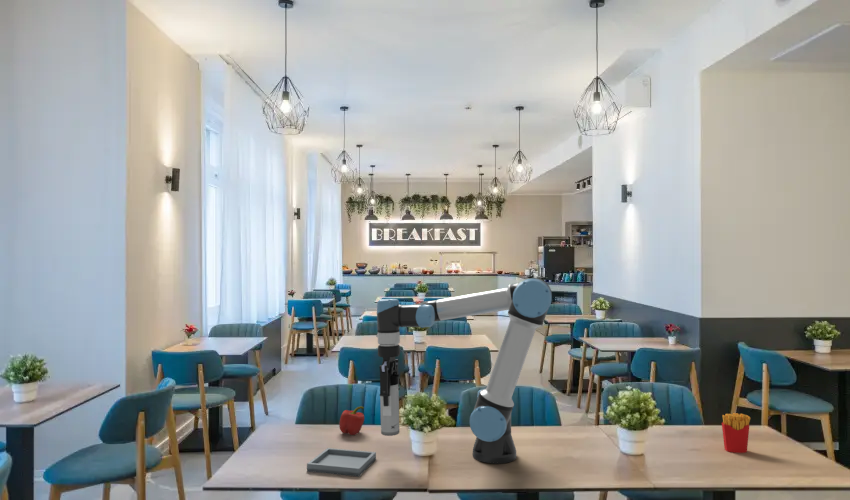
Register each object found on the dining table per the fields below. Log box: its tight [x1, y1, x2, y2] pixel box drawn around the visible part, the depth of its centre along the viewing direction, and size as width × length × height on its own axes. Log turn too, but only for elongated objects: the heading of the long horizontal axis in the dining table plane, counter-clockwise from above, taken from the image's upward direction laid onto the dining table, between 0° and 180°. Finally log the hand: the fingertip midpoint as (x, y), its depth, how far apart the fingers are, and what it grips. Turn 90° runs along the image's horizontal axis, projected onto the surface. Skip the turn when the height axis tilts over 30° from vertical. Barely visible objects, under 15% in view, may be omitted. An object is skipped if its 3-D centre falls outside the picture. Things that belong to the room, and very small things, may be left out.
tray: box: [306, 447, 377, 477], centre depth 192 cm, size 18×16×2 cm
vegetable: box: [338, 405, 365, 436], centre depth 227 cm, size 11×10×10 cm
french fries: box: [721, 412, 751, 454], centre depth 205 cm, size 9×4×13 cm, turn 85°
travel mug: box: [379, 373, 400, 437], centre depth 195 cm, size 6×7×20 cm
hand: (390, 412), depth 195 cm, fingers closed on travel mug, 6 cm apart
